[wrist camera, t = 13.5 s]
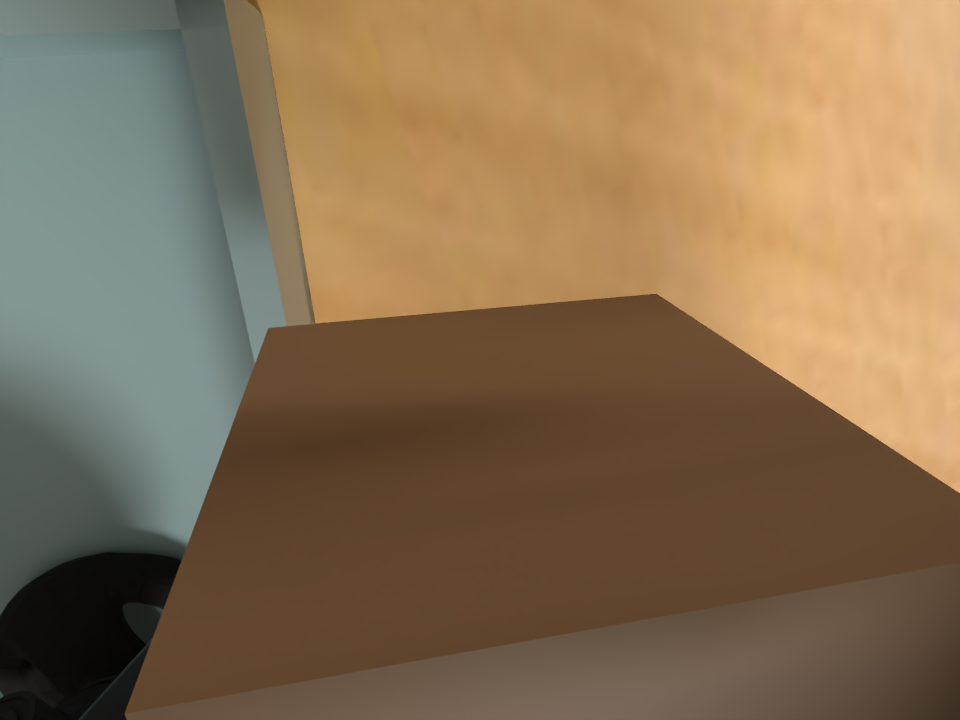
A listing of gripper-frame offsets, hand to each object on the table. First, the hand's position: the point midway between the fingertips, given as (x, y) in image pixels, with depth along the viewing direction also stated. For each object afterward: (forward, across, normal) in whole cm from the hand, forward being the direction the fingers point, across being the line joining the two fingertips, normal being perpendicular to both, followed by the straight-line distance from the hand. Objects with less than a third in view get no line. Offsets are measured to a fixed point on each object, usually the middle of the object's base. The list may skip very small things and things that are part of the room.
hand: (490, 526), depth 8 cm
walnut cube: (+1, 0, 0) cm, 1 cm away
